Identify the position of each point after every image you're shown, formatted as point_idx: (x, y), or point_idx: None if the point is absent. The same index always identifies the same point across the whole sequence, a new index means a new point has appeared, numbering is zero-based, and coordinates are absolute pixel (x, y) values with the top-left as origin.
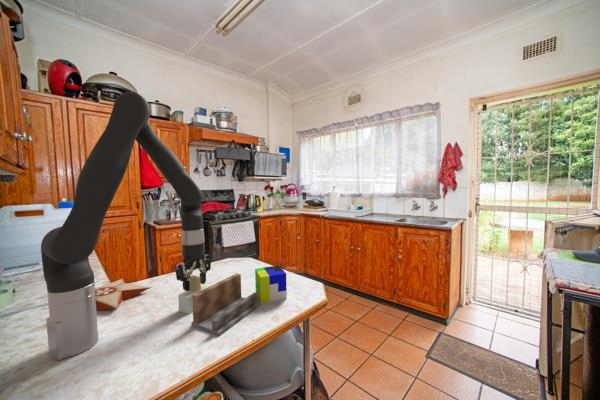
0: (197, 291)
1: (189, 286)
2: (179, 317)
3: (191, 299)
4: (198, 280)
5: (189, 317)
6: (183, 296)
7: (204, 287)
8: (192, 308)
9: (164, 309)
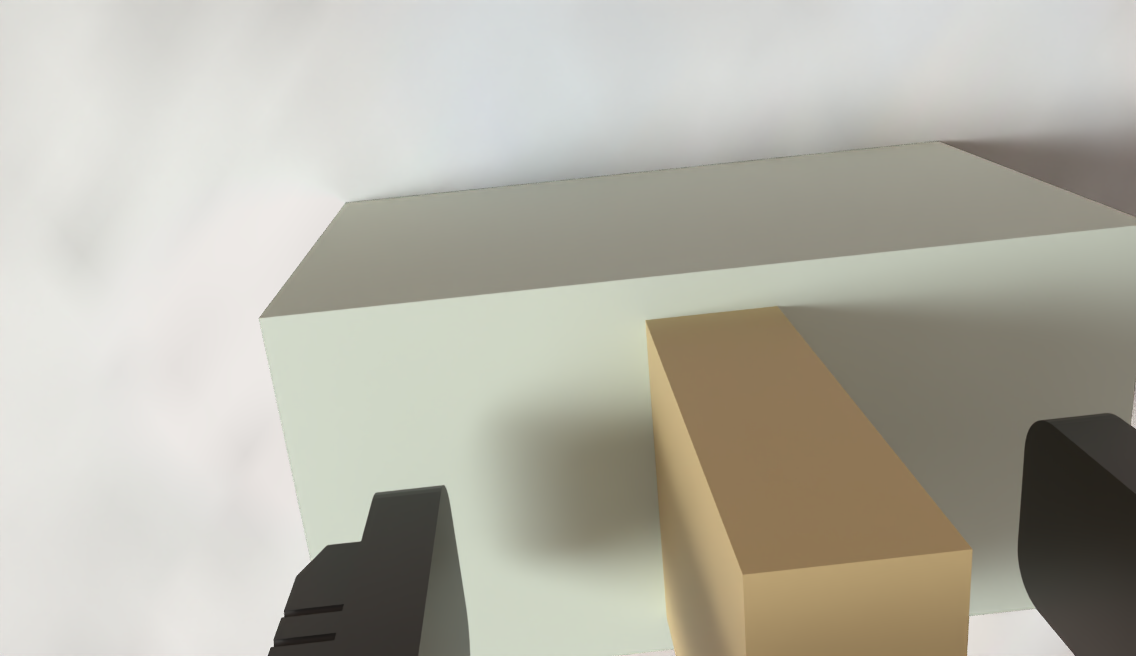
0: (775, 314)
1: (1133, 474)
2: (1090, 185)
3: (983, 209)
4: (822, 491)
5: (1017, 10)
6: (1125, 406)
7: (442, 413)
8: (867, 166)
9: (1000, 648)
